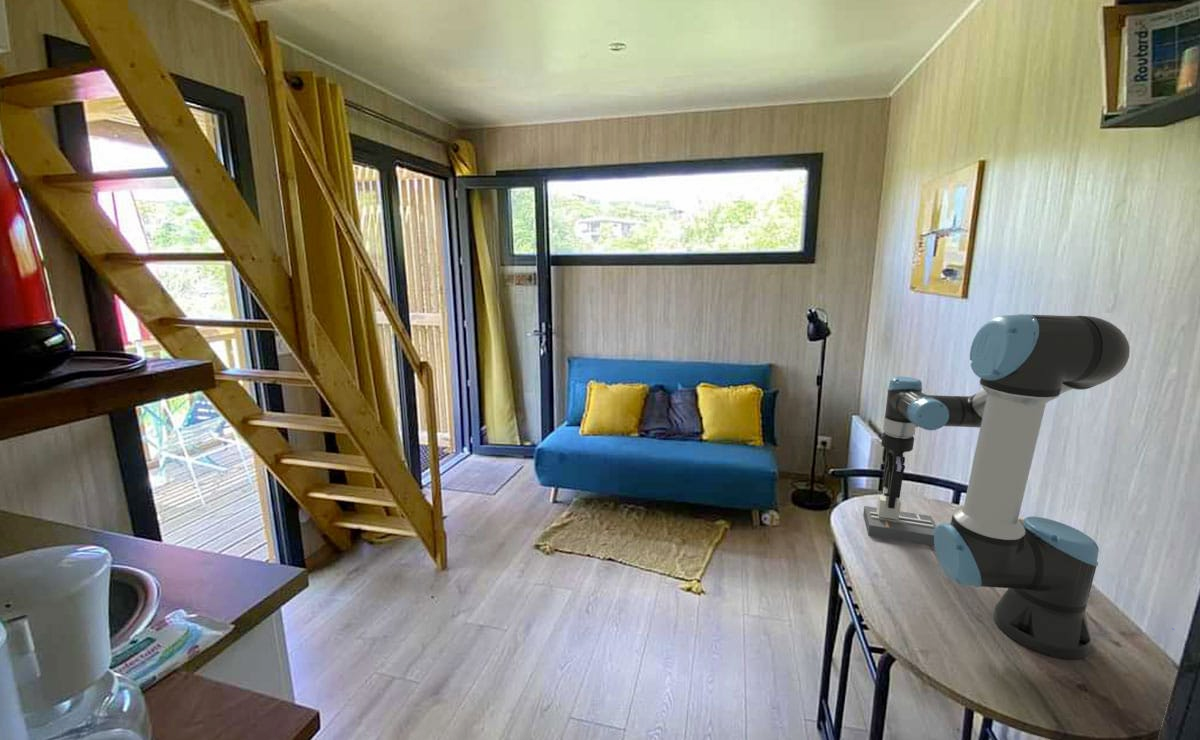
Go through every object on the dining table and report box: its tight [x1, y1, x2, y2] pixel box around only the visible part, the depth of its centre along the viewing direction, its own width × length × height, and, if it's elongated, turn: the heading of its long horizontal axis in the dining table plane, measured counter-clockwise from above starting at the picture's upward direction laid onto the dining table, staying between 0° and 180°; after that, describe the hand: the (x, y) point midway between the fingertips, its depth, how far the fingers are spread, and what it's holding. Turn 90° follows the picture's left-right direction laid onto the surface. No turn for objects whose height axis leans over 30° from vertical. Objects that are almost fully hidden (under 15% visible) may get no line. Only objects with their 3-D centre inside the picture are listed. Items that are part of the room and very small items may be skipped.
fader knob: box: [876, 494, 902, 520], centre depth 147 cm, size 4×5×6 cm
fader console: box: [862, 505, 937, 547], centre depth 147 cm, size 12×17×4 cm
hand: (887, 513), depth 147 cm, fingers closed on fader knob, 4 cm apart
